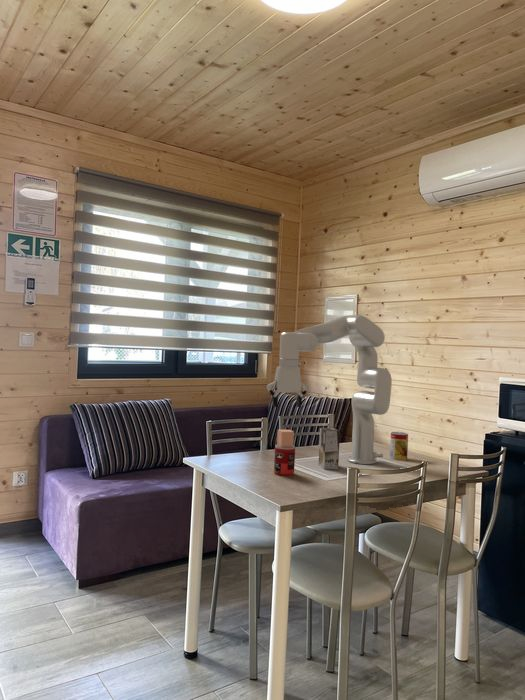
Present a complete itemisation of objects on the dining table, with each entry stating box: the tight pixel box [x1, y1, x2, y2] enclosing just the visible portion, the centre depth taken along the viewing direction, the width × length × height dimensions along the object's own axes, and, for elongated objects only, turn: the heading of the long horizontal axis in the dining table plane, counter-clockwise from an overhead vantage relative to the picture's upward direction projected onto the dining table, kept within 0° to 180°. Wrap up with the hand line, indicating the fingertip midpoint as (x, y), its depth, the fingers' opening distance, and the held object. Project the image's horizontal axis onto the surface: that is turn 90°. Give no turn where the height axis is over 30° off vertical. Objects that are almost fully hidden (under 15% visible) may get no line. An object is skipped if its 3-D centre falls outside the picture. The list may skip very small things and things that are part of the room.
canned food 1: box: [273, 444, 296, 477], centre depth 206 cm, size 8×8×11 cm
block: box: [276, 429, 295, 447], centre depth 206 cm, size 5×5×6 cm
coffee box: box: [318, 427, 341, 470], centre depth 221 cm, size 9×6×16 cm
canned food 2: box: [389, 431, 409, 462], centre depth 245 cm, size 8×8×12 cm
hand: (287, 407), depth 206 cm, fingers open, 9 cm apart
